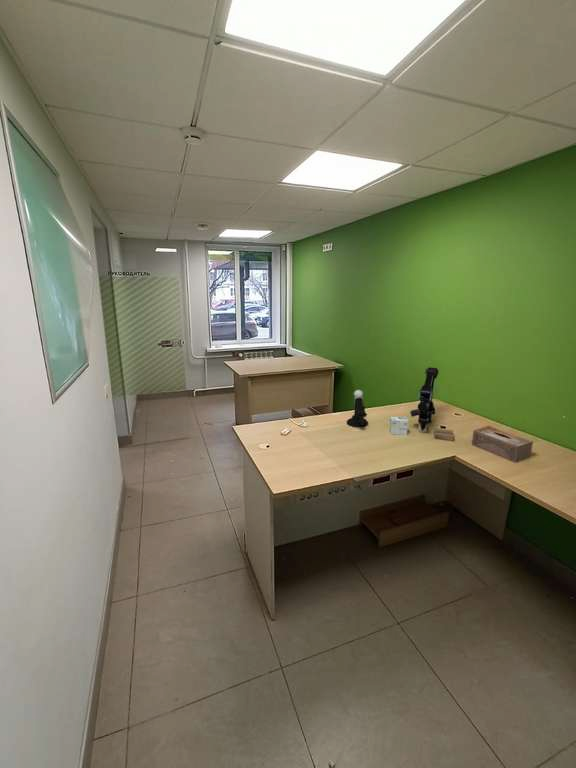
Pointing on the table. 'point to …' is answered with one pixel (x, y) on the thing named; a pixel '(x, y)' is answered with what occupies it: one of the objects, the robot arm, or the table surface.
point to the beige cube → (420, 428)
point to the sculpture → (358, 412)
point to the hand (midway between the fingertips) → (422, 428)
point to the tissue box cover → (502, 443)
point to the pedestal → (443, 434)
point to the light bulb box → (398, 425)
